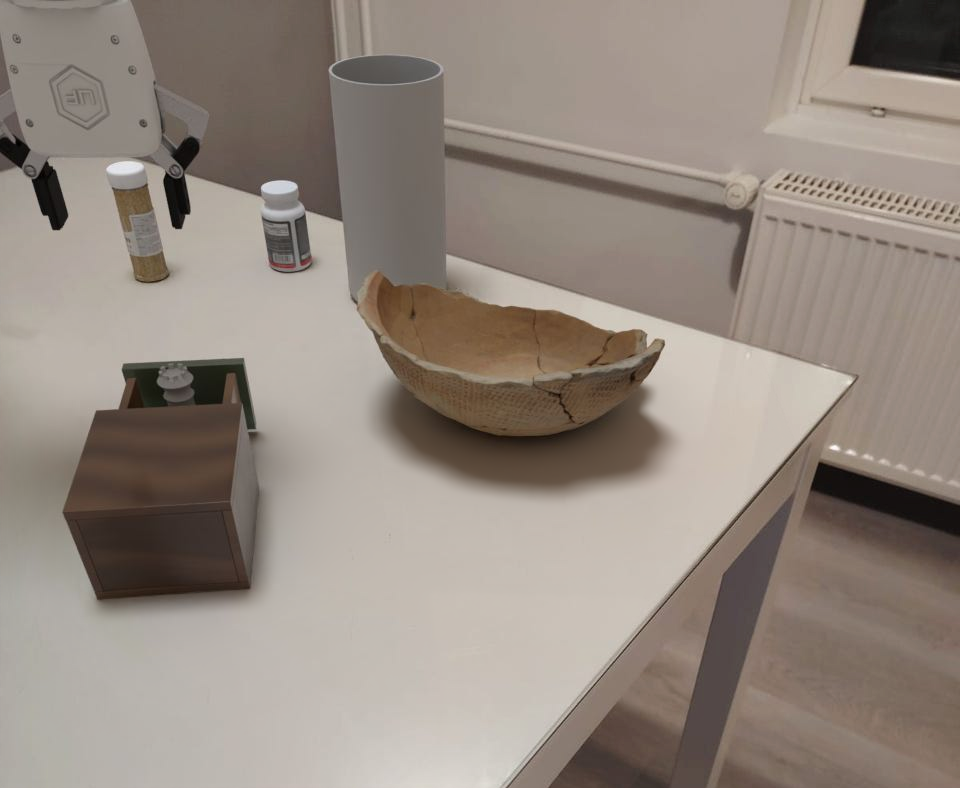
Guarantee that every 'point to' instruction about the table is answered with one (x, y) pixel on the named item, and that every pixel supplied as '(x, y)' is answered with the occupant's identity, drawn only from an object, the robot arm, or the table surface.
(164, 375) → the rook chess piece
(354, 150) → the cylinder vase
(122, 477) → the cabinet
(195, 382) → the drawer
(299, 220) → the pill bottle
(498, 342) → the ceramic bowl
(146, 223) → the sprinkles bottle
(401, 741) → the table surface
